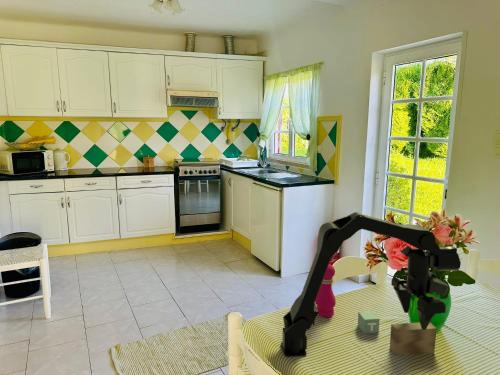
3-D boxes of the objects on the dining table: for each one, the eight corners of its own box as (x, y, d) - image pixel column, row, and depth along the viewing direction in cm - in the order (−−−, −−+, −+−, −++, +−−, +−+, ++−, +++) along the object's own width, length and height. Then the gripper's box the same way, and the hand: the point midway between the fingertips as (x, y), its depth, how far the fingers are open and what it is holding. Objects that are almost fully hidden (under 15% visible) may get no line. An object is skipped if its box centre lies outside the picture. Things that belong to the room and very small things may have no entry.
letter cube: (364, 334, 113) (364, 319, 112) (357, 325, 118) (358, 311, 117) (378, 333, 113) (379, 319, 113) (371, 324, 118) (372, 310, 118)
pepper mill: (330, 320, 121) (332, 265, 118) (311, 313, 125) (312, 260, 122) (338, 311, 127) (340, 259, 123) (320, 306, 131) (321, 254, 128)
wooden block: (395, 355, 102) (397, 330, 101) (389, 348, 105) (391, 324, 104) (434, 353, 103) (436, 328, 102) (427, 346, 106) (429, 321, 105)
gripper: (467, 282, 92) (462, 337, 94) (425, 257, 110) (422, 303, 113) (427, 284, 91) (423, 339, 93) (391, 258, 109) (389, 305, 112)
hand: (414, 320), depth 103 cm, fingers open, 9 cm apart
